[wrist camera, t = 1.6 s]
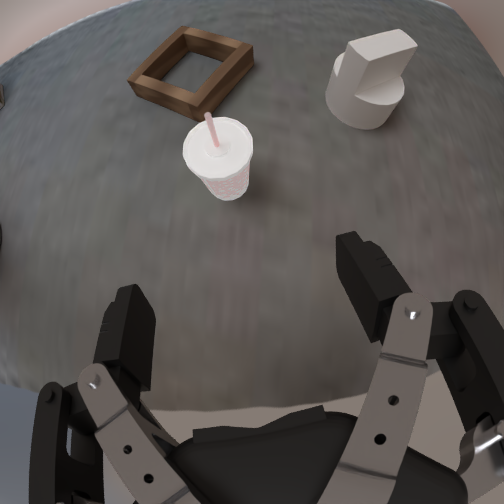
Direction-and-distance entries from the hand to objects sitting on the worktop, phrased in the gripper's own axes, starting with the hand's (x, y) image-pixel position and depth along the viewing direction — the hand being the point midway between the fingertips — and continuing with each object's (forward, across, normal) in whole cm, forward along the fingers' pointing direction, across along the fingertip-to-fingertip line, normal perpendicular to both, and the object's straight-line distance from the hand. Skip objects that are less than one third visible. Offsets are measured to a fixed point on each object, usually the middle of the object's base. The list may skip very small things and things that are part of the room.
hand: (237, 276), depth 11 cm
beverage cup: (+23, 0, +6) cm, 23 cm away
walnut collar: (+34, +2, -6) cm, 35 cm away
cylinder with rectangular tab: (+28, -19, +1) cm, 34 cm away
